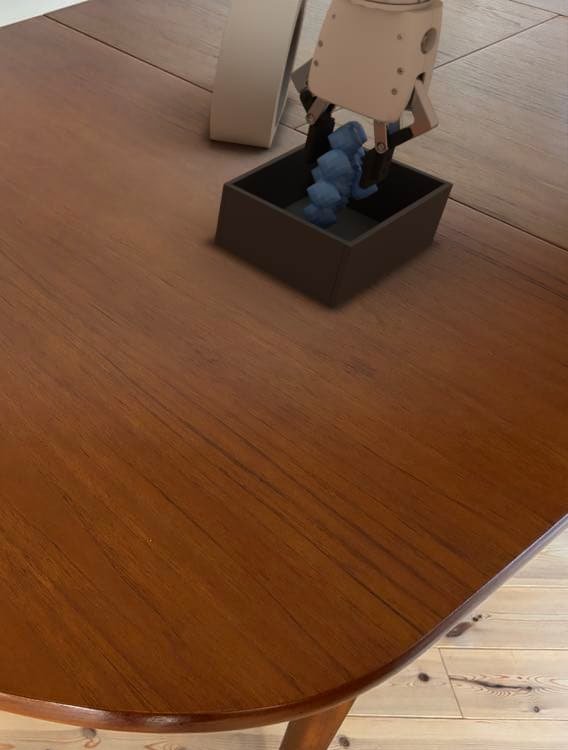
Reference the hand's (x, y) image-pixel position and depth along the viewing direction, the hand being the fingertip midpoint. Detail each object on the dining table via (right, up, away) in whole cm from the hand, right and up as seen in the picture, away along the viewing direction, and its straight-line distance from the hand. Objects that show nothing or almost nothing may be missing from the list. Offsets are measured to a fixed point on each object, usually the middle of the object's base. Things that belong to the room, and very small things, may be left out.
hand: (342, 170), depth 85 cm
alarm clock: (-2, +14, +28) cm, 31 cm away
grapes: (0, -5, +5) cm, 7 cm away
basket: (0, -7, +6) cm, 9 cm away
